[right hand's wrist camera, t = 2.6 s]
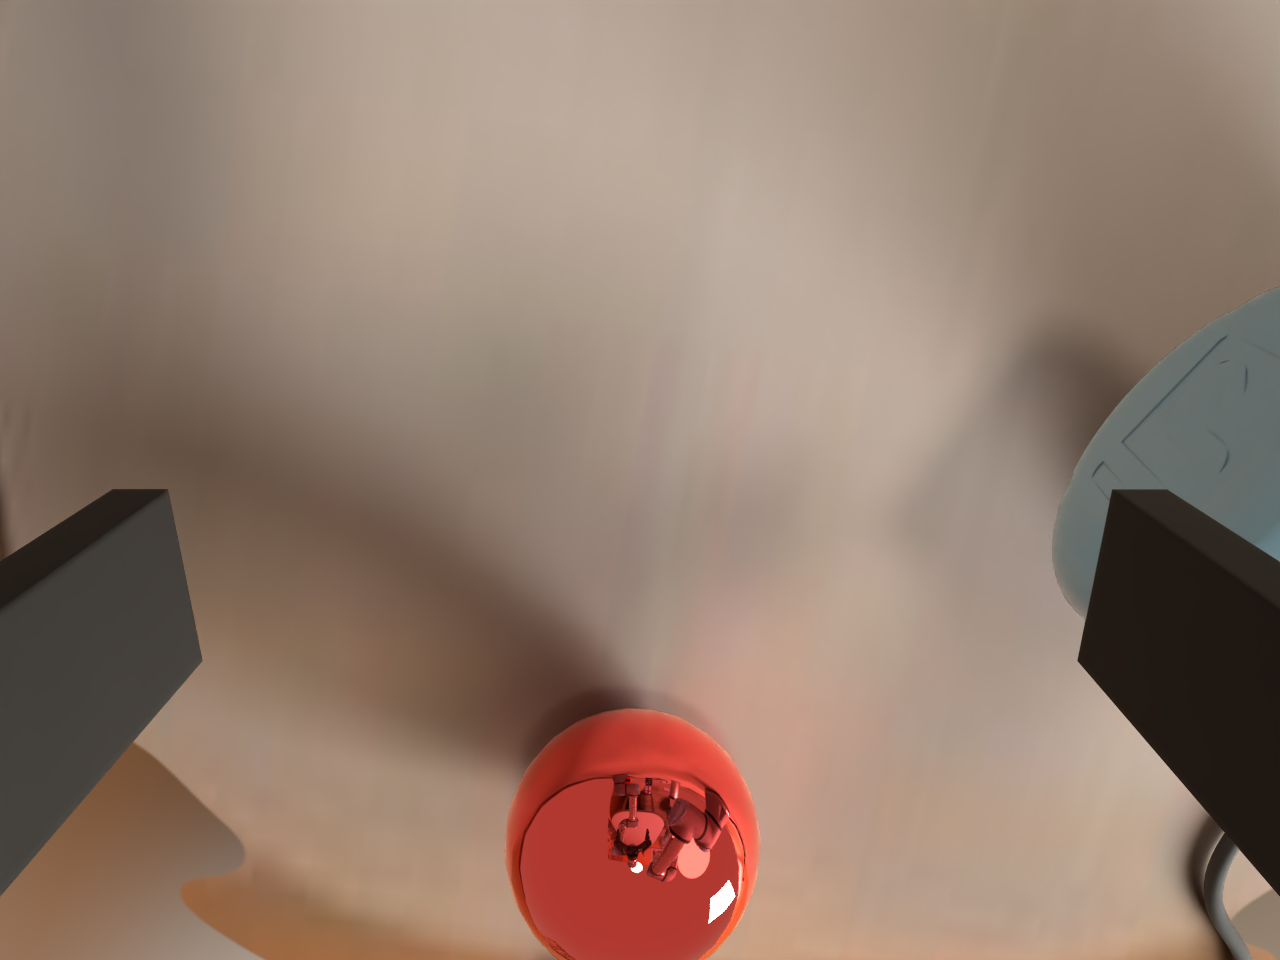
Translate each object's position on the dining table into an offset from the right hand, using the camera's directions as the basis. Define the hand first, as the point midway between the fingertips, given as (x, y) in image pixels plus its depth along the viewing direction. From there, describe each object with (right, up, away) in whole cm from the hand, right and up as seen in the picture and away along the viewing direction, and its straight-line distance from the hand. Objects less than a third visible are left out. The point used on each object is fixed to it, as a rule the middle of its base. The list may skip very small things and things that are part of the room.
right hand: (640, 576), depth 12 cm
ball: (0, -13, +35) cm, 37 cm away
